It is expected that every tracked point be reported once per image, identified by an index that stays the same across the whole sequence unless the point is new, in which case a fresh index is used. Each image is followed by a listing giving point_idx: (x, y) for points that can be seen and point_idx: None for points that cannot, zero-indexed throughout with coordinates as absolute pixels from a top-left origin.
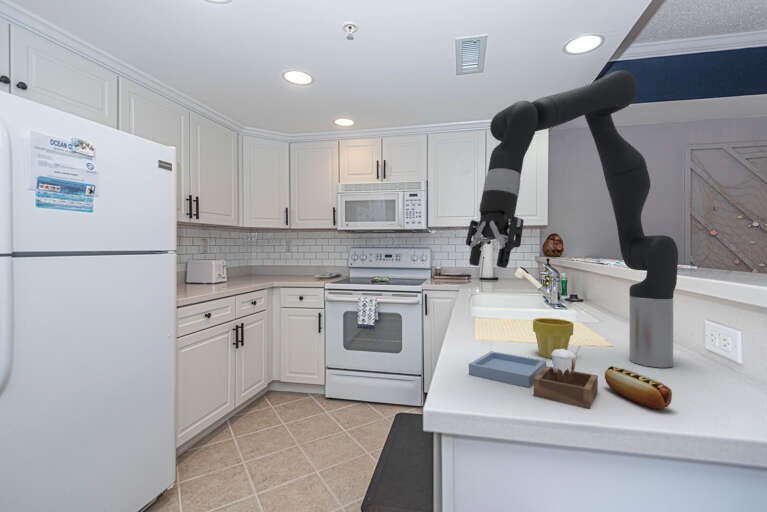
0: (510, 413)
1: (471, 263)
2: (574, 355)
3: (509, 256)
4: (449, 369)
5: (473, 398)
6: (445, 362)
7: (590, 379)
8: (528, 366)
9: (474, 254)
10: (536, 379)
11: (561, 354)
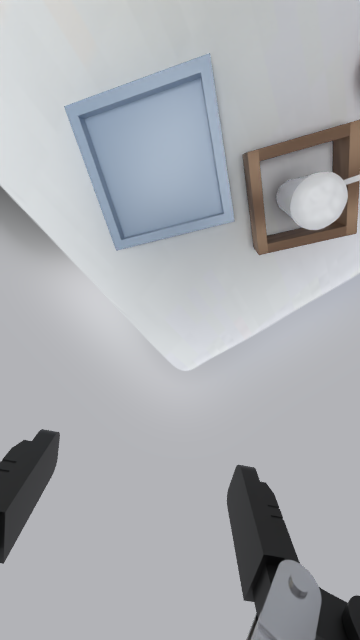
0: (255, 323)
1: (53, 469)
2: (346, 201)
3: (285, 529)
4: (81, 250)
5: (195, 320)
6: (40, 222)
7: (351, 167)
8: (178, 106)
9: (28, 512)
10: (264, 253)
11: (320, 226)
